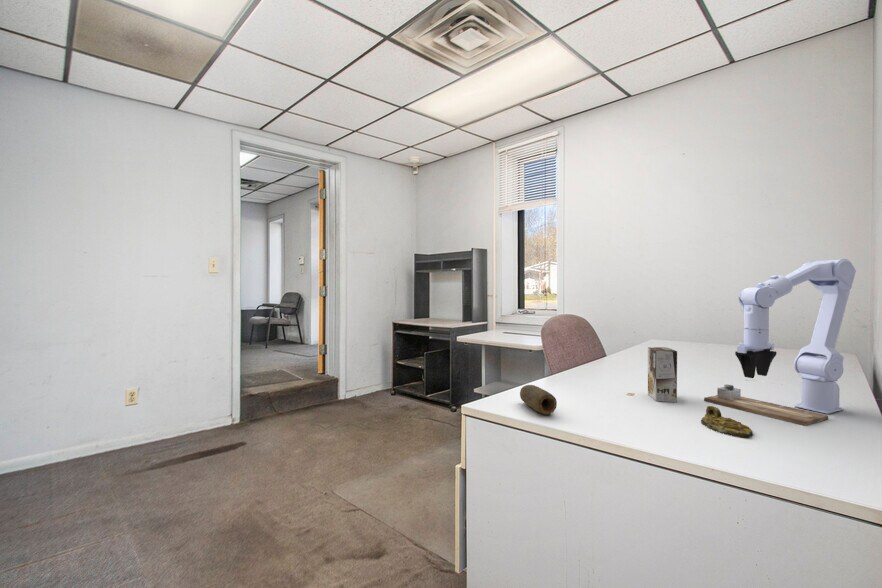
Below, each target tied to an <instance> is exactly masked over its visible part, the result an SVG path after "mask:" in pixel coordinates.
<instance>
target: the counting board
mask: <svg viewBox="0 0 882 588" xmlns="http://www.w3.org/2000/svg"><path fill="white" fill-rule="evenodd" d="M703 401H704V402H708V403H711V404H716V405H720V406H724V407H728V408H731V409H736V410H740V411H743V412H748V413H752V414H756V415H761V416H764V417H768V418H773V419H777V420H781V421H784V422H789V423H792V424H796V425H801V426H809V425H813V424H816V423H820V422H823V421H826V420H827V421H828V419H829V415H828V414H824V413H820V412H815V411H811V410H806V409H805V410H804V409H801V408H797V407H791V406H786V405H783V404H777V403H772V402H768V401H763V400H759V399H754V398H749V397H745V396H741V399H737V400H732V401H730V400H726V399H721V398H717V395H716V394H715V395H711V396H705V397H703Z"/></svg>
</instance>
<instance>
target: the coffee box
mask: <svg viewBox="0 0 882 588" xmlns="http://www.w3.org/2000/svg"><path fill="white" fill-rule="evenodd" d="M647 395H648V396H649V395H650V396H649V397H651V399H653V400H654V401H656V402H666V403H667V402H668V403H669V402H670V403H677V400H678V398H677V397H678V351H677V350H674V349H672V348H670V347H664V346H663V347H662V346H659V347H658V346H657V347H655V346H654V347H647Z"/></svg>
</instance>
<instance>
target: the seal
mask: <svg viewBox="0 0 882 588" xmlns="http://www.w3.org/2000/svg"><path fill="white" fill-rule="evenodd" d="M700 422H701V424H702V426H704V425H705V427H706V426H707V427H706V428H708V429H709V430H711V429H712V431H714V432H716V431H717V433H719V432H720V434H723V433H724V435H727V434H728V435H727V436H731V435H732V436H731V437H736V438H744V439H746V438H747V439H748V438H750V437H753V435H754V434H753V433H754V432H753V430H752V429H751V428H750V427H749V426H747V425H745V424H743V423H742V422H740V421H737V420H735V419H732V418H731V417H724V416H723V415H722V412H721V410H720V409H719V408H718V407H716V406H713V405H707V406H706V410H705V414H704V416H703V417H702V418H701V419H700Z"/></svg>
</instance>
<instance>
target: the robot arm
mask: <svg viewBox="0 0 882 588" xmlns="http://www.w3.org/2000/svg"><path fill="white" fill-rule="evenodd" d="M856 272H857V270H856V268H855V266H854V265H853V263H852V262H851V261H850V260H849V259H847V258H840V259H829V260H828V259H827V260H809V261H808V262H805V263H802V265H801V266H800V267H799V268H797V269H794V271H791V272H790V273H788V274H786V275H785V276H783V275H775V274H774V275H771V276H769V279H767V280H765V281H764V282H758V283H757V284H756V285H755V286H754V287H746V288H744V289H743V290H741V292H740V293H739V296H738V298H737V299H738V302H739V305H740V306H741V311H742V313H743V342H739V343H738V345H736V346H737V347H736V350H737V351H735V352H734V355H735V357H736V358H737V359H738V362H739V363H740V365H741V369H742V372H743V376H744V377H745V378H749V379H754V378H755V376H756V373H757V375H758V376H762V377H767V376H768V373H769V370H770V367H771V364H772V363H773V360H774V358H775V357H776V356H777V355H778V354H777V351H774V350H775V344H774V342H773V343H772V342H769V341H770V339H769V338H770V337H769V336H770V335H769V334H770V329H769V327H770V308H771V307H772V306H773V305H774V304H775V302H776V301H777V300H778V299H780V298H782V297H784V296H786V295H788V294H790V293H791V292H792V291H793V288H794V287H795V286H797V285H800V284H802V283H804V282H807V281H808V282H809V283H810V284H811V285H812V286H813V287H814V288H815V289H816V290H818V291H821V293H822V295H823V296H822V299H821V303H820V305H819V310H818V314H817V316H816V317H817V318H816V322H815V325H814V328H813V333H812V335H811V339H810V343H809V344H807V345H805V346H803V347H802V348H800V349H799V353H798V355H797V356H796V357H795V359H794V361H793V368H794V371H795V372H796V373H797V374H798V377H800V378H801V379H800V380H801V382H800V384H801V385H800V386H801V387H800V389H801V390H800V403H797V404H794V408H797V409H802V410H804V409H805V410H806V411H811V412H816V413H820V414H825V415H828V414H829V415H830V414H832V413H837V412H839V411H844V408H843V407H841V406H840V386H839V384H838V383H837V382H838V380H839V379H841V378H842V375H843V374H844V363H843V362H844V360H845V359H844V358H845V357H844V356H843V355H842V354H841V353H840V352H839V351H837V350H836V349H835V348H836V345H837V341H838V339H839V338H838V337H839V334H840V330H841V326H842V322H843V318H844V315H845V312H846V307H847V303H848V300H849V296H850V294H851V293H850V291H851V289H852V287H853V283H854V280H855V276H856Z"/></svg>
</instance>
